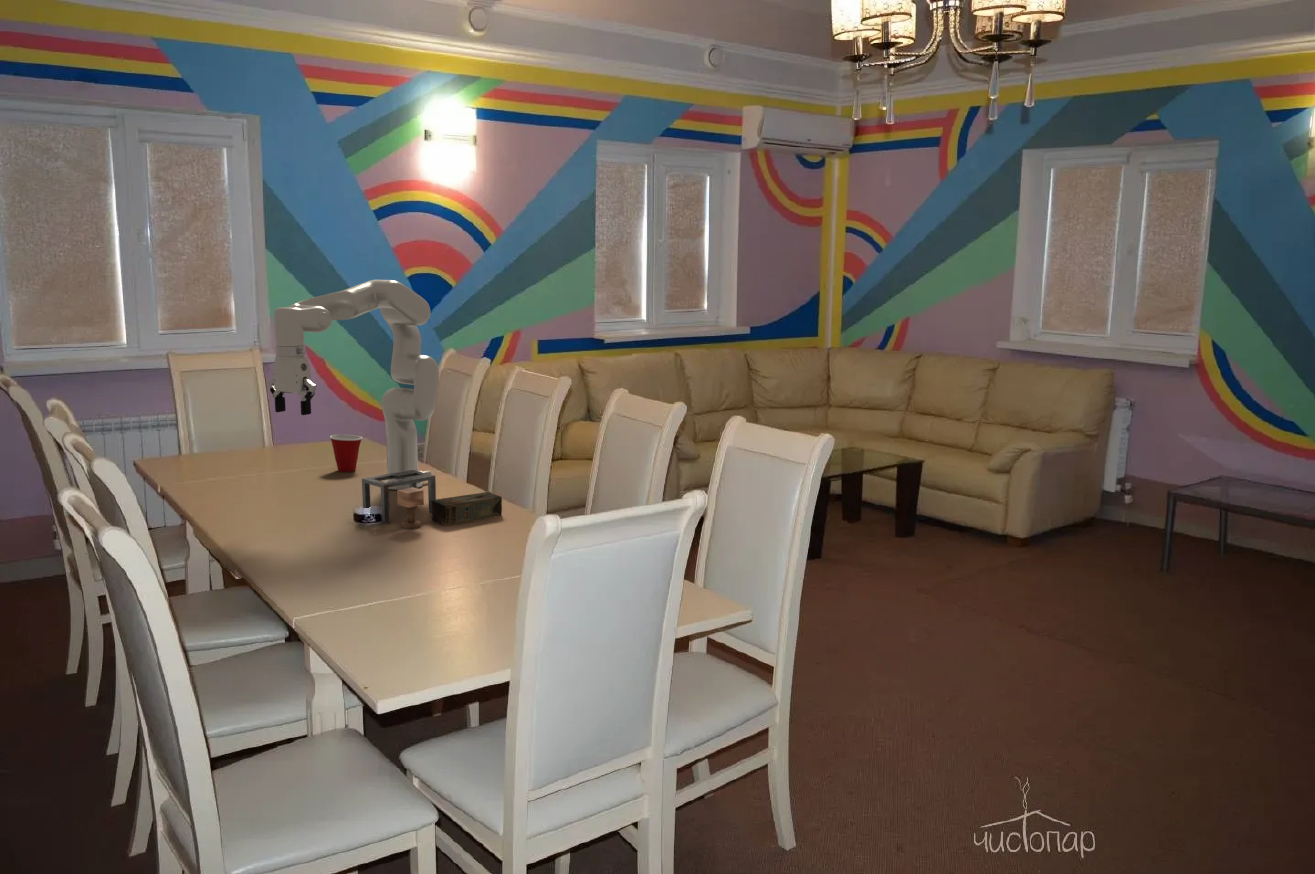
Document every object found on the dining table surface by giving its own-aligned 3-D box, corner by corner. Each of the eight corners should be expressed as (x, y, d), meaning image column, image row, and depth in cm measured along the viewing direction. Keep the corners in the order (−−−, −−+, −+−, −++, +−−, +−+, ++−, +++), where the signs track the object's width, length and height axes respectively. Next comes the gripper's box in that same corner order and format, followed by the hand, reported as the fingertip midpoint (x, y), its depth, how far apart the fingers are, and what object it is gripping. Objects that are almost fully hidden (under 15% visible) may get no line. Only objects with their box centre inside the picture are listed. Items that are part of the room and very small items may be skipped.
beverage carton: (503, 516, 290) (503, 494, 289) (444, 528, 277) (443, 504, 276) (488, 511, 296) (488, 489, 295) (429, 522, 283) (429, 499, 282)
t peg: (413, 523, 281) (412, 487, 279) (424, 526, 277) (423, 490, 276) (398, 526, 277) (397, 490, 275) (408, 530, 274) (407, 493, 272)
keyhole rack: (414, 506, 299) (413, 469, 297) (436, 512, 292) (435, 475, 290) (363, 516, 287) (361, 478, 285) (384, 523, 280) (383, 484, 278)
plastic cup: (368, 471, 346) (367, 436, 344) (337, 474, 339) (336, 439, 337) (356, 465, 354) (355, 431, 352) (326, 469, 348) (324, 434, 345)
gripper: (323, 352, 280) (326, 413, 283) (277, 349, 287) (280, 408, 290) (303, 354, 273) (306, 417, 276) (256, 351, 281) (260, 412, 284)
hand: (293, 413), depth 283 cm, fingers open, 9 cm apart
